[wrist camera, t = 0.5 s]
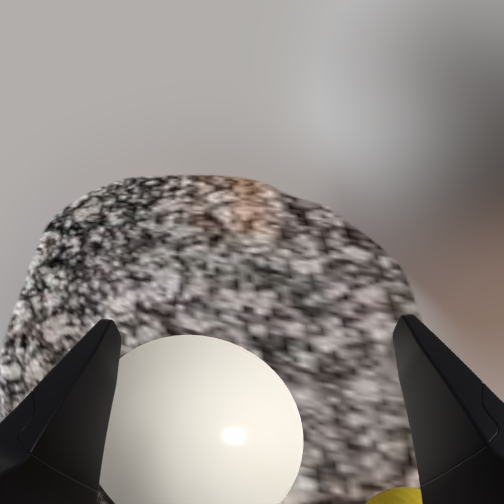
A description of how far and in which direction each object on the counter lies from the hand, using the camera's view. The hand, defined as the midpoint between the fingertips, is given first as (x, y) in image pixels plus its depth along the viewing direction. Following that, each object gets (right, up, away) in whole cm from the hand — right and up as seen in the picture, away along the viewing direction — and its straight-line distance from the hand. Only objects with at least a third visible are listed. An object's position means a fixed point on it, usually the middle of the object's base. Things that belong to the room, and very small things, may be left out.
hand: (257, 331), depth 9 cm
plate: (-5, -11, +11) cm, 16 cm away
